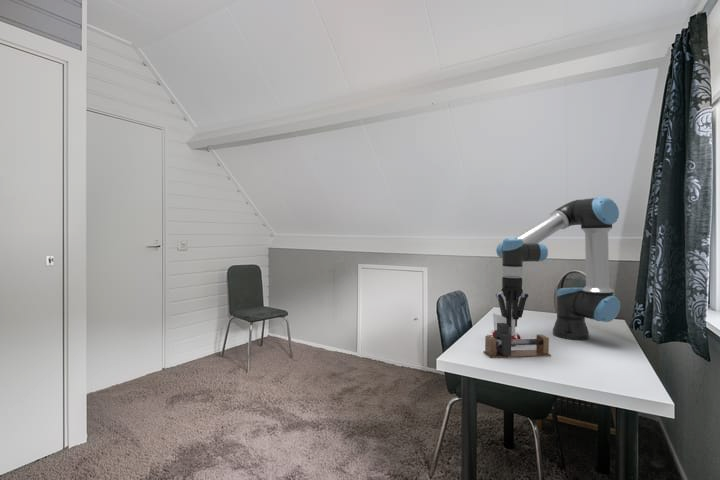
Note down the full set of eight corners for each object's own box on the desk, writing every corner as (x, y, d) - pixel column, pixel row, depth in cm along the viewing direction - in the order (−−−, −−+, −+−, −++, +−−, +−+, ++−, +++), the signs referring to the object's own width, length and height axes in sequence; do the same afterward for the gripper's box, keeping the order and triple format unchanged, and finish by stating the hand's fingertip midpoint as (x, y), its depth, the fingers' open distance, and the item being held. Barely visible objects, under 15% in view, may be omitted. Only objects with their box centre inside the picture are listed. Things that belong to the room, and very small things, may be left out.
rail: (540, 350, 155) (541, 333, 155) (551, 356, 148) (551, 338, 148) (483, 352, 152) (483, 335, 152) (490, 358, 145) (491, 340, 145)
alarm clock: (494, 329, 176) (526, 328, 166) (497, 343, 175) (529, 342, 165) (484, 334, 168) (517, 332, 158) (487, 348, 167) (521, 347, 157)
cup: (489, 333, 181) (489, 313, 181) (497, 329, 189) (497, 310, 189) (510, 337, 175) (510, 316, 175) (517, 333, 182) (517, 313, 182)
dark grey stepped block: (501, 349, 154) (501, 321, 153) (511, 355, 146) (511, 326, 145) (494, 349, 153) (494, 321, 153) (503, 355, 145) (504, 326, 145)
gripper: (522, 275, 154) (522, 332, 154) (492, 275, 152) (491, 332, 153) (532, 277, 146) (532, 337, 147) (501, 277, 145) (500, 337, 145)
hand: (511, 334), depth 150 cm, fingers closed
